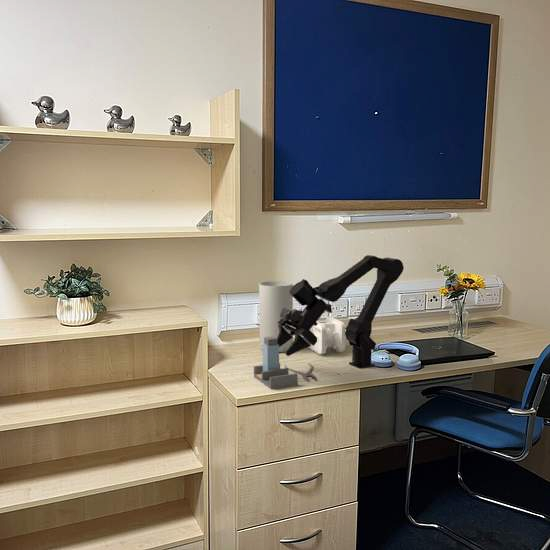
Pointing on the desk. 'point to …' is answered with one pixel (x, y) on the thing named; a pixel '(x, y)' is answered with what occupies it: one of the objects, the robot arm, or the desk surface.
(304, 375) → the pliers
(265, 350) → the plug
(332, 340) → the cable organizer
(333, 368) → the desk surface
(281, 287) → the cylinder vase
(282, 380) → the grey slotted holder
